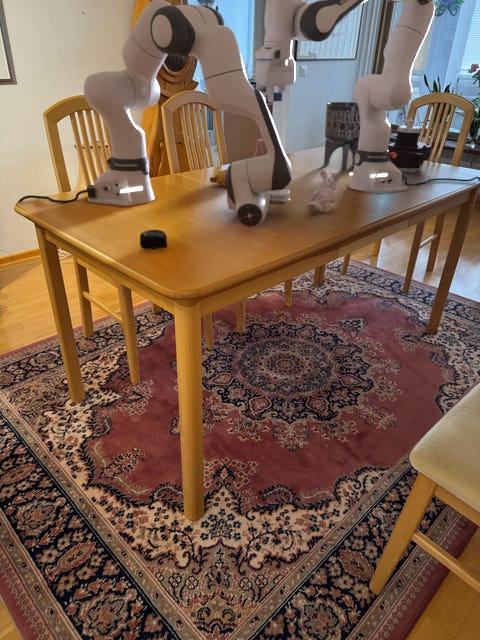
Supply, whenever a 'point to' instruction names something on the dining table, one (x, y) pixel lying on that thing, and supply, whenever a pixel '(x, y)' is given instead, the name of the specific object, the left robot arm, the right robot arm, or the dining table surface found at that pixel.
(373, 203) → the dining table surface
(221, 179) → the toy
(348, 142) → the planter
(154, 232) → the tape measure
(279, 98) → the cap
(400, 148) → the mechanical component
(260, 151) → the bottle
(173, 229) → the dining table surface
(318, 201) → the figurine
